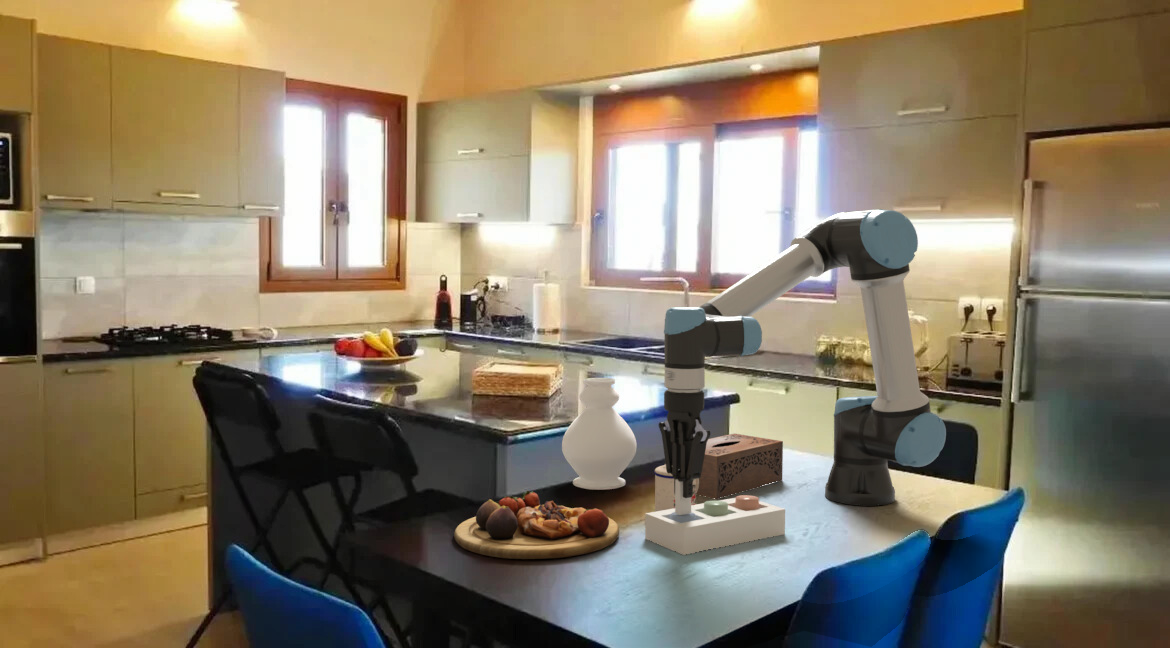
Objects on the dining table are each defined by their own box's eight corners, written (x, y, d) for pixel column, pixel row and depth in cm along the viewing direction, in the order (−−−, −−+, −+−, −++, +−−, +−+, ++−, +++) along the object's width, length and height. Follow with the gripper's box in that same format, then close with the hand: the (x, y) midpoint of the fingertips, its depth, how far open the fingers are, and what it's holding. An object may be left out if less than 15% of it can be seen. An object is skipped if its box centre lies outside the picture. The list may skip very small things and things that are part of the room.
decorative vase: (649, 480, 234) (650, 378, 233) (611, 496, 219) (612, 386, 218) (587, 472, 244) (587, 373, 242) (547, 486, 229) (547, 381, 227)
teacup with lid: (677, 520, 200) (678, 464, 199) (645, 511, 206) (645, 457, 205) (714, 509, 208) (714, 456, 207) (681, 501, 214) (681, 449, 214)
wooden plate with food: (653, 537, 188) (653, 495, 188) (531, 573, 166) (530, 526, 165) (542, 510, 211) (542, 473, 210) (421, 539, 188) (420, 497, 188)
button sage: (717, 519, 191) (717, 499, 190) (732, 524, 187) (732, 504, 187) (698, 522, 188) (699, 502, 188) (714, 528, 184) (714, 507, 184)
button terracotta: (747, 513, 195) (748, 494, 195) (763, 518, 191) (763, 499, 191) (730, 517, 193) (730, 497, 192) (745, 522, 189) (746, 502, 188)
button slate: (685, 530, 187) (685, 510, 186) (700, 536, 183) (700, 515, 182) (666, 534, 184) (666, 513, 184) (680, 540, 180) (681, 519, 180)
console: (743, 520, 199) (743, 496, 199) (784, 534, 189) (785, 509, 189) (645, 538, 186) (645, 513, 186) (683, 555, 176) (684, 528, 176)
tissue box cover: (734, 472, 245) (734, 433, 244) (782, 482, 235) (782, 441, 234) (667, 489, 227) (667, 447, 226) (716, 500, 217) (716, 456, 216)
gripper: (647, 387, 185) (646, 508, 187) (690, 395, 174) (689, 524, 176) (678, 384, 189) (677, 503, 191) (722, 392, 178) (720, 518, 180)
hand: (683, 513), depth 183 cm, fingers closed
